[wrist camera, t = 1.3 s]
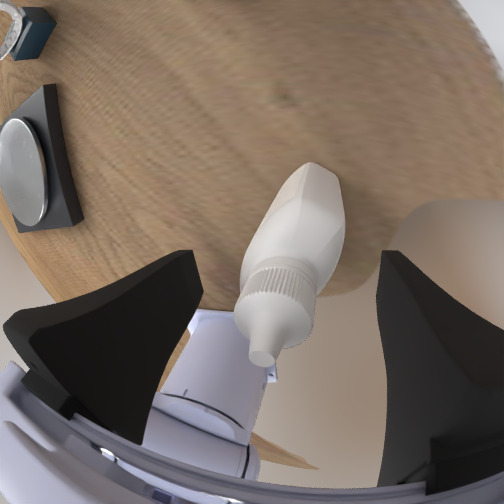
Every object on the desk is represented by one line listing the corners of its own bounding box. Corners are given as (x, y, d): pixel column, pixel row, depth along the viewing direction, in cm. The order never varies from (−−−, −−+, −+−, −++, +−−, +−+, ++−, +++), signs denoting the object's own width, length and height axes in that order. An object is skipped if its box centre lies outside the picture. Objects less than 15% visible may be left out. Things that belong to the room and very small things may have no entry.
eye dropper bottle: (248, 198, 18) (144, 328, 7) (322, 152, 15) (317, 247, 5) (285, 250, 19) (233, 409, 9) (358, 212, 16) (391, 375, 6)
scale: (84, 219, 22) (73, 226, 21) (25, 228, 26) (17, 233, 25) (56, 83, 16) (43, 84, 15) (2, 130, 20) (-8, 133, 19)
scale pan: (61, 219, 21) (57, 222, 20) (16, 227, 24) (13, 229, 23) (35, 99, 15) (30, 100, 14) (-6, 138, 18) (-10, 139, 18)
